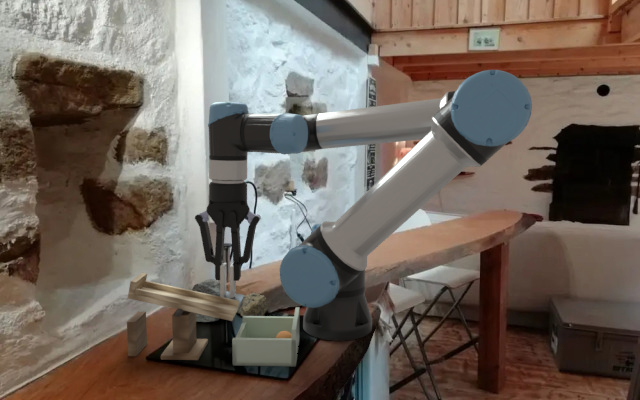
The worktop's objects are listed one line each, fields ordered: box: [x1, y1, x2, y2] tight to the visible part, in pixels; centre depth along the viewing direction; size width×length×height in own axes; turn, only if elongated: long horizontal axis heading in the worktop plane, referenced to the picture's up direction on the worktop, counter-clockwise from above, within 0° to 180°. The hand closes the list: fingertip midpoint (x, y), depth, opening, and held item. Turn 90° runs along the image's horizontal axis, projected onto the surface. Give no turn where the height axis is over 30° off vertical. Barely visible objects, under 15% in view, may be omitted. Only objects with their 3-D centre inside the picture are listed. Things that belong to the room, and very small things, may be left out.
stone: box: [191, 278, 228, 323], centre depth 116 cm, size 10×10×10 cm
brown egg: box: [276, 331, 291, 338], centre depth 98 cm, size 4×4×4 cm
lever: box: [127, 272, 245, 322], centre depth 100 cm, size 20×14×4 cm
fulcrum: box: [126, 310, 209, 361], centre depth 98 cm, size 14×8×8 cm, turn 89°
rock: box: [236, 292, 269, 317], centre depth 119 cm, size 7×8×4 cm
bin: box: [231, 306, 301, 367], centre depth 98 cm, size 12×12×7 cm
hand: (228, 295), depth 103 cm, fingers closed
